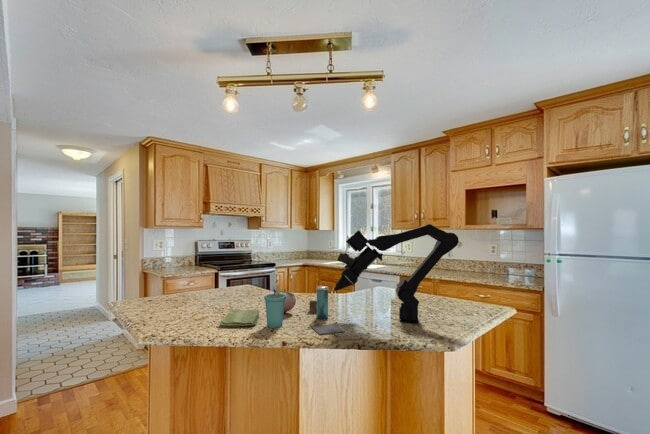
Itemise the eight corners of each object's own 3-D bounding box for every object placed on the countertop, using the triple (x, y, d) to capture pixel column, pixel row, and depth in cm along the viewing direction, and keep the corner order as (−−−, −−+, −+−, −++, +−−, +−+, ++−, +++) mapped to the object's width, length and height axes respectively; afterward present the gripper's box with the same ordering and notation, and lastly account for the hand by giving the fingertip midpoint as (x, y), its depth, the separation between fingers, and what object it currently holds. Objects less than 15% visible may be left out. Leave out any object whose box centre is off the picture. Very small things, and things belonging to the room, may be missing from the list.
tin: (329, 316, 129) (330, 286, 129) (326, 320, 124) (326, 288, 125) (318, 315, 130) (318, 285, 131) (314, 318, 126) (314, 287, 126)
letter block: (321, 309, 141) (321, 298, 141) (320, 312, 136) (320, 301, 136) (311, 309, 141) (311, 298, 141) (309, 312, 137) (309, 300, 137)
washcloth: (217, 329, 113) (218, 320, 113) (228, 316, 131) (229, 308, 131) (255, 328, 114) (256, 319, 114) (261, 315, 132) (261, 307, 132)
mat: (334, 324, 118) (334, 323, 118) (344, 332, 110) (344, 331, 110) (311, 327, 115) (311, 326, 115) (319, 335, 106) (319, 333, 107)
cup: (285, 332, 109) (286, 287, 110) (262, 333, 108) (262, 287, 109) (285, 320, 123) (286, 280, 124) (264, 321, 122) (265, 281, 123)
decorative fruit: (269, 314, 132) (269, 289, 132) (278, 310, 139) (278, 286, 140) (290, 316, 129) (290, 291, 129) (298, 311, 136) (298, 287, 137)
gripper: (350, 244, 137) (323, 270, 137) (348, 246, 118) (318, 276, 119) (368, 263, 136) (342, 289, 136) (370, 268, 117) (339, 298, 118)
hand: (335, 287), depth 127 cm, fingers open, 9 cm apart
